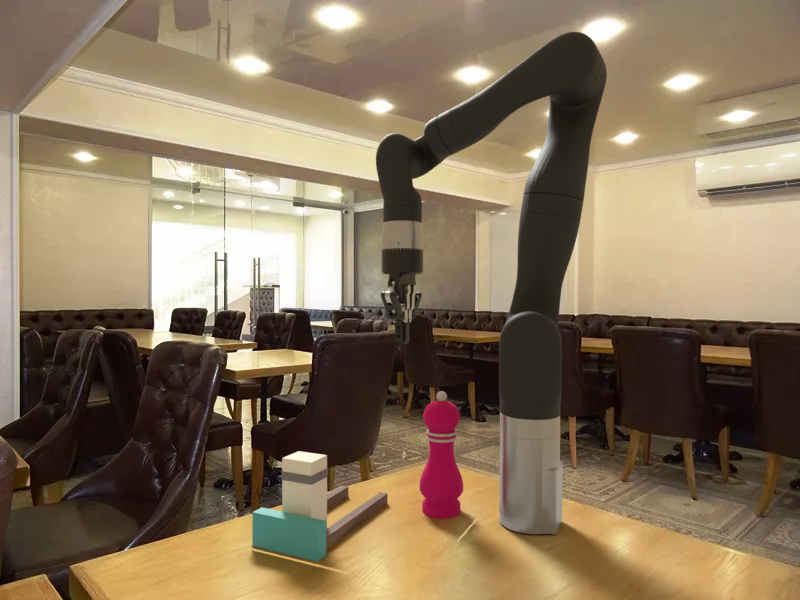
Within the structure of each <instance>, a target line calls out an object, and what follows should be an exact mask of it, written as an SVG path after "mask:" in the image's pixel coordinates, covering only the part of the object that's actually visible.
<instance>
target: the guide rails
mask: <svg viewBox="0 0 800 600" xmlns="http://www.w3.org/2000/svg"><path fill="white" fill-rule="evenodd" d="M348 497H349V486H346V485H340V486H337V487H336V488H334V489H332V490H331V491H329V492H327V511H328V510H330V509H331V508H333V507H335V506H336V505H338V504H339V503H341V502H343V501H344V500H346V499H347V498H348ZM387 505H388V493H387V492H381V491H380V492H378V493H377V494H375V495H373V496H372V497H370V498H369V499H368V500H366V501H365V502H363V503H362V504H360V505H359V506H357V507H356V508H355V509H353V510H352V511H350V512H349V513H347V514H346V515H344V516H343V517H342V518H340V519H338V520H337V521H336V522H334V523H333V524H332V525H330V526H327V529H326V551H327V550H328V549H330V548H331V547H332V546H334V545H335V544H336V543H337V542H339V541H340V540H342V539H343V538H344V537H346V536H347V535H348V534H349V533H351V532H352V531H354V529H356V528H357V527H358V526H360V525H361V524H362V523H364V522H365V521H367V520H368V519H369V518H371V517H372V516H373V515H375V514H376V513H377V512H379V511H380V510H381V509H382V508H384V507H385V506H387Z"/></svg>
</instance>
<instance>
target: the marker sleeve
mask: <svg viewBox="0 0 800 600" xmlns="http://www.w3.org/2000/svg"><path fill="white" fill-rule="evenodd" d="M281 462H282V463H281V464H282V465H281V466H282V467H281V469H282V470H280V473H281V474H280V475H281V477H280V481H282V482H281V484H282V485H281V487H282V488H281V490H282V492H281V495H282V497H281V499H282V501H281V503H282V504H281V507H282V508H281V509H282V512H287V513H291V514H296V515H301V516H306V517H311V518H316V519H321V520H325V521H326V529H327V528H328V510H327V493H328V476H329V468H328V455H326V454H321V453H314V452H307V451H299V450H298V451H296V452H293V453H291V454H288V455H286V456H283V457H282V458H281Z"/></svg>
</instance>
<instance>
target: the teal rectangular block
mask: <svg viewBox="0 0 800 600" xmlns="http://www.w3.org/2000/svg"><path fill="white" fill-rule="evenodd" d="M251 526H252V529H251V530H252V541H251V543H252V544H251V545H252V547H257V548H261V549H264V550H265V549H266V550H269V551H272V552H276V553H280V554H285V555H289V556H293V557H297V558H301V559H305V560H309V561H314V562H319V561H321V560H322V559H324V557H326V556H327V550H326V521H325V520H321V519H316V518H311V517H306V516H301V515H296V514H291V513H287V512H282V511H281V510H276V509H273V508H272V509H271V508H267V507H262V506H261V507H260V508H258V509H256V510H254V511H252V525H251Z"/></svg>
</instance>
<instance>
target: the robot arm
mask: <svg viewBox="0 0 800 600" xmlns="http://www.w3.org/2000/svg"><path fill="white" fill-rule="evenodd" d="M606 83H607V65H606V63H605V61H604V58H603V56H602V54H601V53H600V50H599V49H598V47H597V45H596V43H595V41H594V40H593V39H592V38H591V37H590V36H589V35H587V34H585V33H584V32H579V31H568V32H565V33H561V34H559V35H557V36H556V37H554V38H552V39H551V40H549V41H548V42H547V43H545V44H544V45H542V46H541V47H539V48H538V49H536V50H535V51H534V52H533V53H532V54H531V55H529V56H528V57H527V58H525V59H524V60H523V61H521V62H520V63H519V64H517V65H516V66H514V67H513V68H512V69H510V70H509V71H508V72H506V73H505V74H503V75H502V76H501V77H499V78H498V79H497V80H496V81H494V82H493V83H491V84H490V85H489V86H487V87H486V88H484V89H482V90H481V91H480V92H478V93H476V94H475V95H473V96H472V97H470V98H468V99H466V100H465V101H463V102H460V103H459V104H457V105H455V106H453V107H452V108H450V109H448V110H446V111H444V112H442V113H440V114H438V115H437V116H435V117H433V118H432V119H430V120H429V121H427V122H426V124H425V125H424V127H423V134H421V136H419V137H418V138H415V139H412V138H410V137H407V136H406V135H404V134H401V133H396V132H393V133H389V134H386V135H385V136H384V137H383V138H382V139H381V140H380V142H379V144H378V146H377V149H376V154H375V167H376V173H377V177H378V182H379V188H380V191H381V195H382V200H383V206H382V207H383V210H382V211H383V214H382V215H383V216H382V217H383V218H382V221H383V223H382V232H381V273H382V274H383V275H388V280H387V290H386V291H380V292H381V293H380V298H381V301H382V303H383V306H384V309H385V312H386V314H387V317H388V319H389V320H392V323H394V342H395V344H398V345H405V344H409V343H410V323H412V320H413V319H414V320H415V319H416V316H417V313H418V309H419V306H420V304H421V300H422V295H423V293H422V292H421V291H420V292H419V291H417V281H416V275H421V274H422V273H424V231H423V224H422V222H423V217H422V216H423V203H422V202H423V201H422V196H421V193H419V192H418V190H417V189H416V188H415V186H414V182H413V180H414V179H418V178H420V177H422V176H425V175H427V174H428V173H429V172H431V171H432V170H433V169H435V168H436V167H437V166H439V165H440V164H441V163H442V162H443V161H445V160H446V159H447V158H448V157H450V156H452V155H455V154H457V153H459V152H461V151H464V150H465V149H467V148H470V147H471V146H473V145H475V144H477V143H479V142H480V141H481V140H483V139H485V138H486V137H487V136H489V135H490V134H491V133H493V131H494V130H496V128H497V127H499V126H500V125H501V124H502V123H503V122H504V120H506V119H507V118H509V116H511V115H512V114H514V113H515V112H517V111H518V110H519V109H521V108H522V107H525V106H526V105H528V104H531V103H533V102H535V101H538V100H540V99H543V98H546V97H549V110H548V119H547V128H546V129H547V130H546V134H545V138H544V142H543V145H542V148H541V149H540V151H539V153H538V156H537V157H536V159H535V162H534V164H533V166H532V168H531V170H530V172H529V175H528V177H527V180H526V183H525V186H524V190H523V197H522V203H521V208H520V215H519V221H518V222H519V223H518V232H517V234H518V236H517V265H516V267H517V269H516V271H517V273H516V281H515V287H514V290H513V291H514V292H513V294H512V300H511V304H510V307H509V310H508V314H507V318H506V321H505V323H504V326H503V327H502V329H501V331H500V335H499V343H498V345H499V346H498V348H499V349H498V350H499V351H498V355H499V356H498V368H499V369H498V376H499V377H498V380H499V382H498V393H499V394H498V395H499V505H498V509H499V510H498V512H499V522H500V524H501V525H502V526H503V527H505V528H507V529H508V530H510V531H513V532H517V533H522V534H527V535H547V534H548V535H557V532H558V531H559V529H560V526H561V524H562V521H563V476H564V475H563V473H564V472H563V468H564V467H563V466H564V465H563V461H562V460H561V405H562V404H561V403H562V401H561V400H562V379H563V378H562V375H563V374H562V371H563V370H562V369H563V368H562V367H563V346H562V345H563V344H562V340H563V339H562V335H561V332H560V329H559V325H560V323H559V322H560V320H559V319H560V307H561V296H562V288H563V284H564V279H565V276H566V273H567V270H568V267H569V264H570V261H571V259H572V255H573V251H574V249H575V245H576V242H577V239H578V238H577V237H578V234H579V229H580V224H581V219H582V213H583V206H584V201H585V200H584V199H585V193H586V192H585V191H586V184H587V179H588V178H587V177H588V169H589V163H590V161H589V160H590V149H591V142H592V137H593V132H594V127H595V124H596V121H597V116H598V113H599V110H600V107H601V103H602V99H603V96H604V92H605V87H606Z"/></svg>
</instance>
